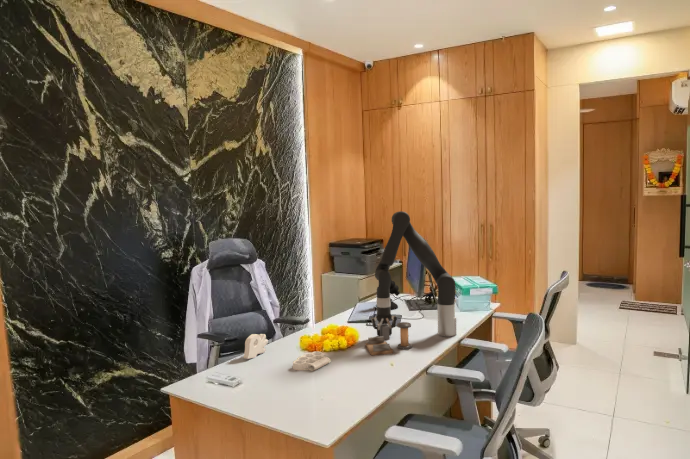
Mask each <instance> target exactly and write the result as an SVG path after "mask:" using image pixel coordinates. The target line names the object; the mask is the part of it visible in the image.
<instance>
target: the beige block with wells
mask: <svg viewBox="0 0 690 459" xmlns="http://www.w3.org/2000/svg"><path fill="white" fill-rule="evenodd" d="M329 363H331V359H330V358H329V357H328V356H326V355H324V353H323V352H322V351H312V352H309V353H304V354H303V355H301V356H298V357H297V358H296V360H293V361H292V368H293V370H295V371H305V370H308V371H310V372H311V371H313V372H314V371H317V369H319V368H322V367H324V366H325V365H327V364H329Z"/></svg>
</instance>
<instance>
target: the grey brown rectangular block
mask: <svg viewBox="0 0 690 459" xmlns="http://www.w3.org/2000/svg"><path fill="white" fill-rule="evenodd" d="M382 336H383V337H384V341H388V340H390V336H389V326H388V324H382V325H381V327H380V337H382Z"/></svg>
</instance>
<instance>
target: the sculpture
mask: <svg viewBox="0 0 690 459" xmlns="http://www.w3.org/2000/svg"><path fill="white" fill-rule="evenodd" d="M389 290H390V295H395V296H396V297H398V296H399V295H401V292H400V291H399V286H398V285H397V284H396V282H395V281H394V280H393V279H391V284H390V289H389ZM390 303H391V311H393V310H394V311H395V310H397V309H398V308H399V306H398V304H397V303H396V302H395V301H393V299H392V298H391V297H390ZM375 309H376V310H377V308H375Z"/></svg>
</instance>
